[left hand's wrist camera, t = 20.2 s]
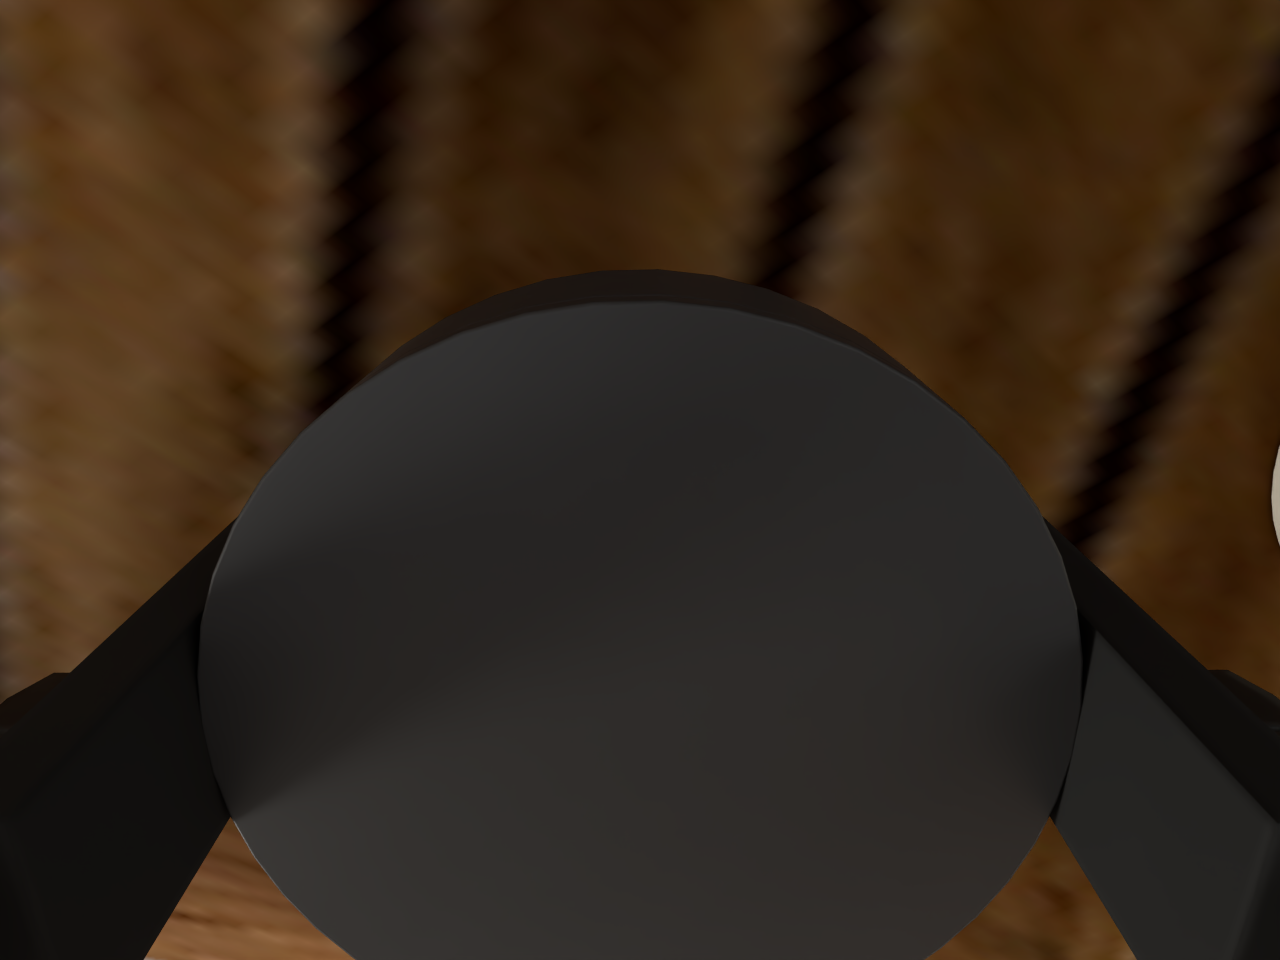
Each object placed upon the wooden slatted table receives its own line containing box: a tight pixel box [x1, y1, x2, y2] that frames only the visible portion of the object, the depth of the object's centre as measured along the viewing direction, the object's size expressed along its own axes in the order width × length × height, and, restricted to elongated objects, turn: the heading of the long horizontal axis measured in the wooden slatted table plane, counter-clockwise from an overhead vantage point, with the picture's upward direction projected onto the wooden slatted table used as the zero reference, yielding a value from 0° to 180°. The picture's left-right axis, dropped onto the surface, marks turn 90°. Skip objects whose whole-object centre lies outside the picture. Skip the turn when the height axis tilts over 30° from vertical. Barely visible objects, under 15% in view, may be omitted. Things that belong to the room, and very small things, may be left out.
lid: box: [197, 269, 1083, 960], centre depth 11 cm, size 10×10×2 cm
